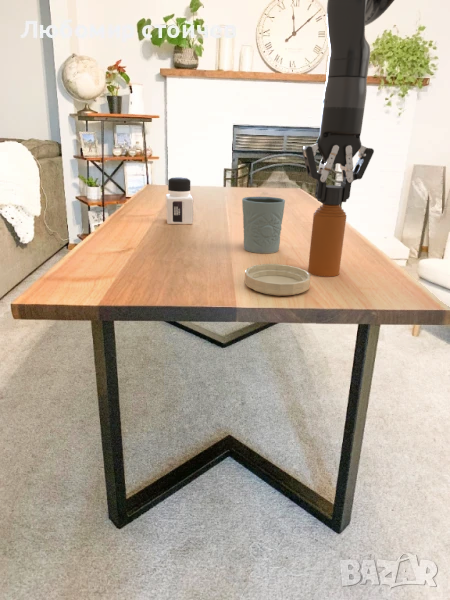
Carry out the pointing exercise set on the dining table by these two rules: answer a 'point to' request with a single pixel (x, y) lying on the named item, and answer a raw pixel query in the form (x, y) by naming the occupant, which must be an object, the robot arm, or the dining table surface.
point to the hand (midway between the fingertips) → (331, 200)
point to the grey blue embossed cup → (262, 223)
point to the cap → (333, 195)
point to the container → (179, 202)
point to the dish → (277, 279)
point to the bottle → (327, 240)
